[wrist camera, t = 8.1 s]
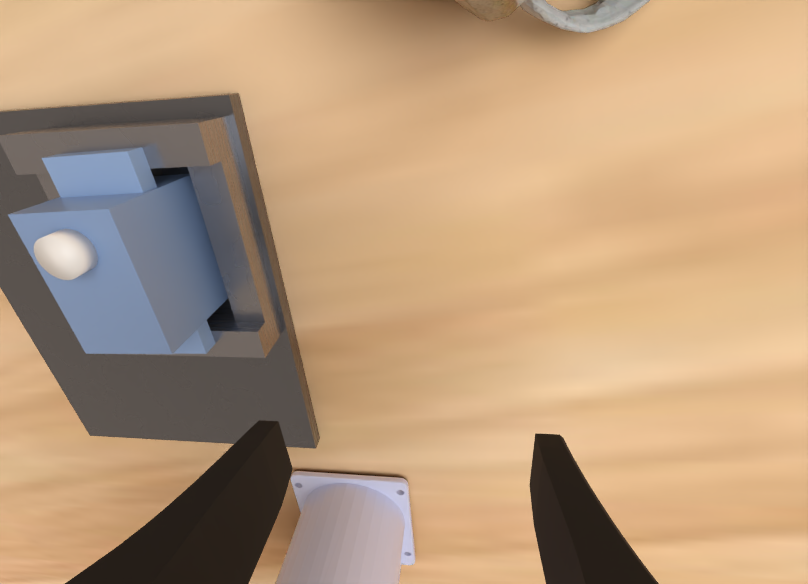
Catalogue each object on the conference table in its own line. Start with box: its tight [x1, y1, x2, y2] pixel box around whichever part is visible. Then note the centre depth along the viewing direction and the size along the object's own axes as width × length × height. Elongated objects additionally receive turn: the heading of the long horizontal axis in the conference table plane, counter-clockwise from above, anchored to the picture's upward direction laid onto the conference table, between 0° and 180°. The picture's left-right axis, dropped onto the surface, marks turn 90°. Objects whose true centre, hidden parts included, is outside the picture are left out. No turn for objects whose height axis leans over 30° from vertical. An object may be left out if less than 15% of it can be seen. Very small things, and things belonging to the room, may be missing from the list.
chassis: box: [0, 93, 320, 448], centre depth 22 cm, size 20×16×3 cm
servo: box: [8, 147, 228, 354], centre depth 17 cm, size 9×4×6 cm, turn 5°
